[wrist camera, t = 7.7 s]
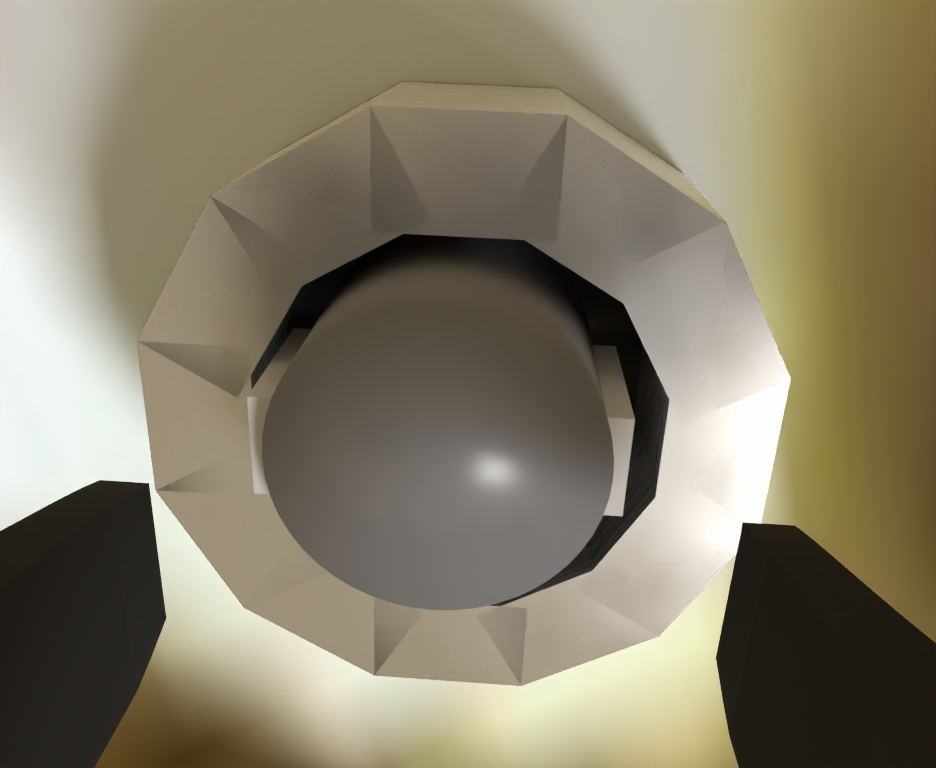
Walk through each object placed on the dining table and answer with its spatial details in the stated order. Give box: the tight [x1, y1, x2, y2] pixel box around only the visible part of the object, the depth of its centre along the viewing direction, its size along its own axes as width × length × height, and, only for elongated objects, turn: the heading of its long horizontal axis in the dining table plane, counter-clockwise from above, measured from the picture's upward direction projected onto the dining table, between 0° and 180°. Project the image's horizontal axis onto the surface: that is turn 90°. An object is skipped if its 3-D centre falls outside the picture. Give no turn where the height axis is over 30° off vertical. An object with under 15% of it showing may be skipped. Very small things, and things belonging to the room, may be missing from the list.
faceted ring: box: [137, 82, 791, 686], centre depth 15 cm, size 10×10×4 cm
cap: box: [247, 234, 635, 610], centre depth 14 cm, size 6×5×4 cm
